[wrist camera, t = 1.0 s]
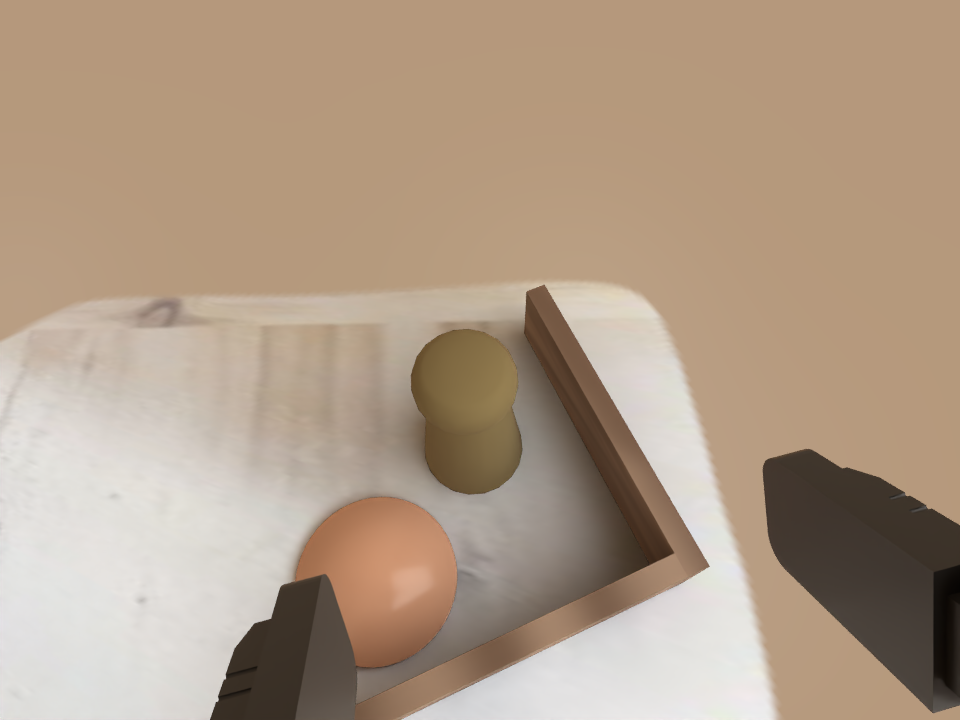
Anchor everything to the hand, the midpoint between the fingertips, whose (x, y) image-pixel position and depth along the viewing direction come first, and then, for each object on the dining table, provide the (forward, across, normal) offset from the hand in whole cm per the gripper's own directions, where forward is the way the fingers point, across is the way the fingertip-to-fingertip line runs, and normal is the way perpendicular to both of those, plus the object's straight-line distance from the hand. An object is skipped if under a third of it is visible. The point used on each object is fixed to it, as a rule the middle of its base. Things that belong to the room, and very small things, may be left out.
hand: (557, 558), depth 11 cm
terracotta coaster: (+22, +7, +14) cm, 26 cm away
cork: (+26, 0, +9) cm, 28 cm away
